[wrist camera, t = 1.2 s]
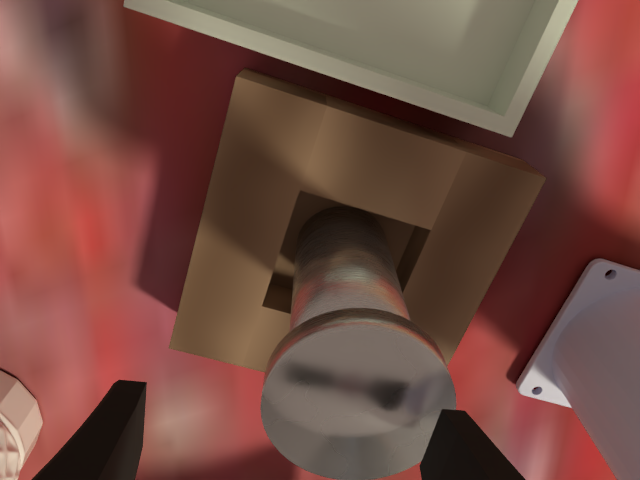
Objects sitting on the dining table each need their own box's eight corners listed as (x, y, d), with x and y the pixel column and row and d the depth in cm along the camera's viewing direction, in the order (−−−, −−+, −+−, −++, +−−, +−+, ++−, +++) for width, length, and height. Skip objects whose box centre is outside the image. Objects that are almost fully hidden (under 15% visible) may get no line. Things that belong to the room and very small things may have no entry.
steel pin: (418, 212, 22) (489, 359, 13) (376, 311, 24) (411, 496, 15) (302, 177, 22) (293, 306, 12) (268, 281, 24) (239, 457, 15)
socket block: (522, 159, 22) (546, 178, 20) (413, 376, 27) (423, 412, 24) (245, 67, 20) (236, 76, 18) (182, 316, 25) (168, 348, 23)
